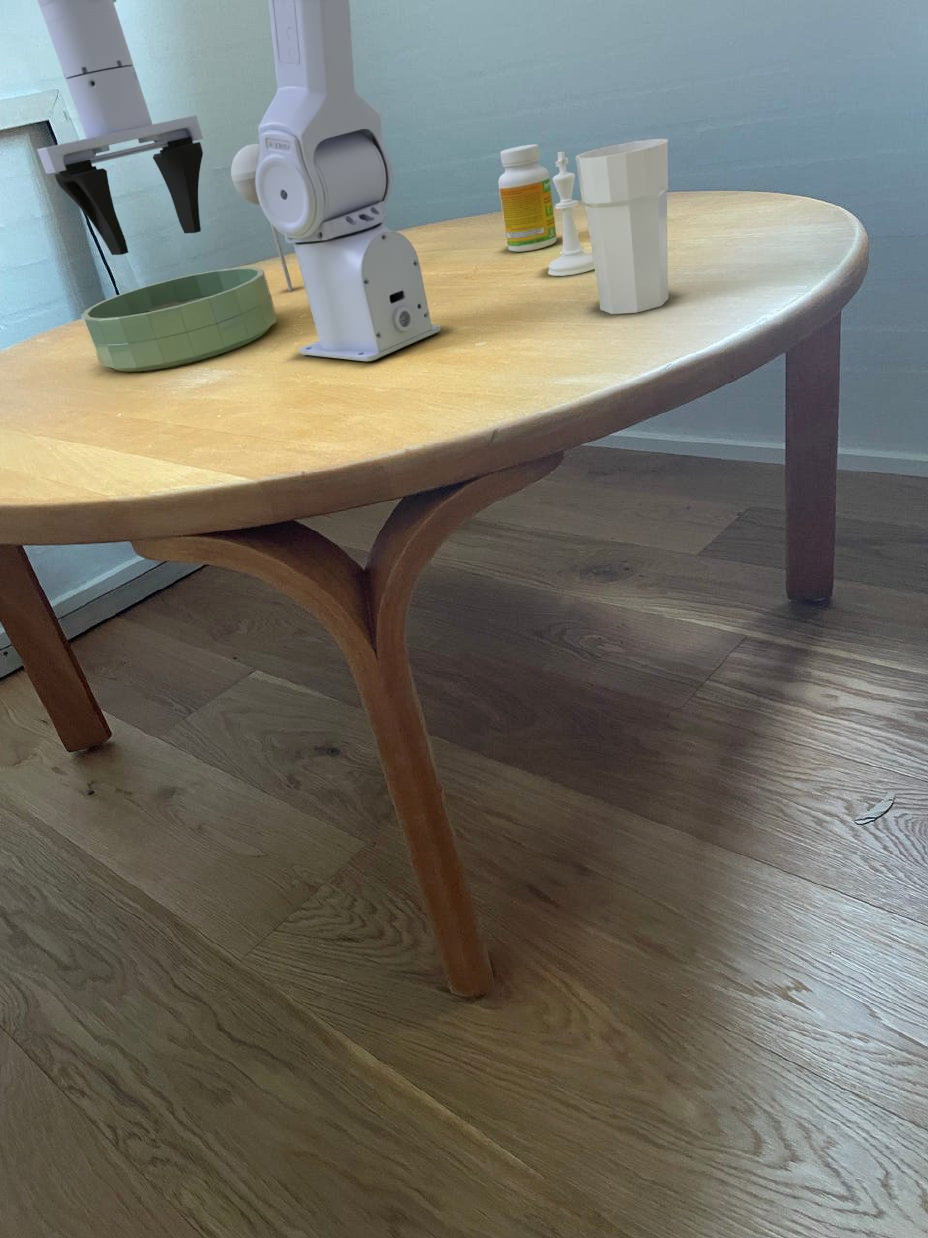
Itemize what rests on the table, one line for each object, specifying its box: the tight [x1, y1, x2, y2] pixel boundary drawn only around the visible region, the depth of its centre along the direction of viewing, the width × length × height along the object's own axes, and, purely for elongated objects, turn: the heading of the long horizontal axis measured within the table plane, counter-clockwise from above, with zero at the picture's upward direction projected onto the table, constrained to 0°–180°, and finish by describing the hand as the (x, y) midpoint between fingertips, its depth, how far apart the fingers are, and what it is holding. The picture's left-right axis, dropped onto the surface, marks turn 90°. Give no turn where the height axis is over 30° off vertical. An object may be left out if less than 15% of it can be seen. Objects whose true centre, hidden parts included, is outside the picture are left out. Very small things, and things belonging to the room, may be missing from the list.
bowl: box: [80, 266, 277, 373], centre depth 87 cm, size 17×17×5 cm
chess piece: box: [547, 150, 595, 277], centre depth 83 cm, size 5×5×10 cm
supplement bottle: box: [497, 143, 557, 253], centre depth 97 cm, size 5×5×10 cm
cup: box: [575, 138, 670, 315], centre depth 68 cm, size 7×7×11 cm
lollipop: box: [230, 143, 294, 292], centre depth 100 cm, size 6×6×15 cm
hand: (157, 242), depth 84 cm, fingers open, 7 cm apart
